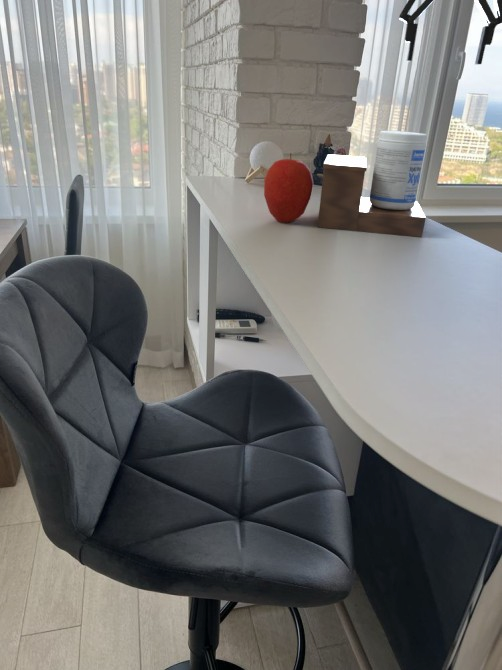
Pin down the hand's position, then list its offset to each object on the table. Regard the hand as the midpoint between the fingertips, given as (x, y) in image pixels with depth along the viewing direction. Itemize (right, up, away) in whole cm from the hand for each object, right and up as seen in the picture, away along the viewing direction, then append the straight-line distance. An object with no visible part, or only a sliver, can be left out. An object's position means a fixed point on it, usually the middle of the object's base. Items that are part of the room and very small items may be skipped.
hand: (443, 62), depth 103 cm
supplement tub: (-9, -28, +5) cm, 30 cm away
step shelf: (-14, -31, +7) cm, 35 cm away
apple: (-32, -31, +5) cm, 45 cm away
